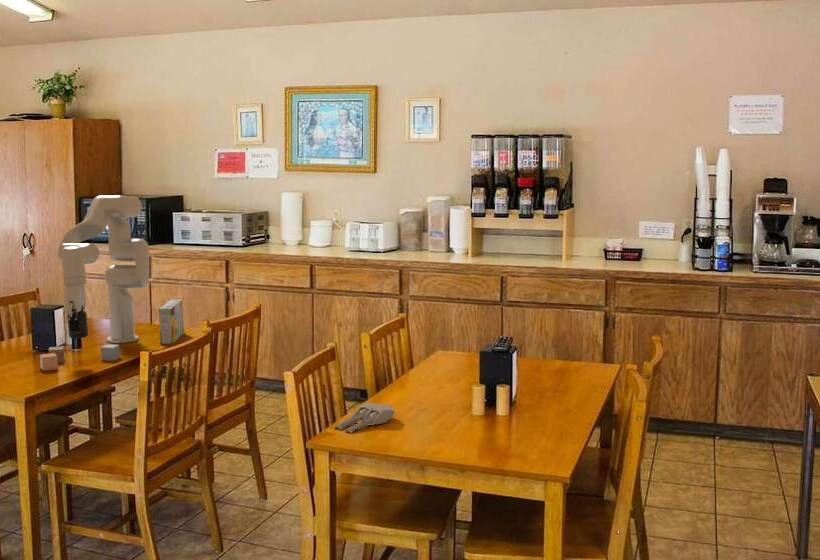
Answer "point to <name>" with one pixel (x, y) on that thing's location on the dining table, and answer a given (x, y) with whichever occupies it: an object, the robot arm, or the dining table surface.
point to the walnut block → (57, 353)
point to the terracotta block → (48, 362)
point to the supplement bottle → (82, 325)
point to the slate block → (110, 352)
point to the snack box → (171, 321)
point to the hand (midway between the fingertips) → (77, 327)
